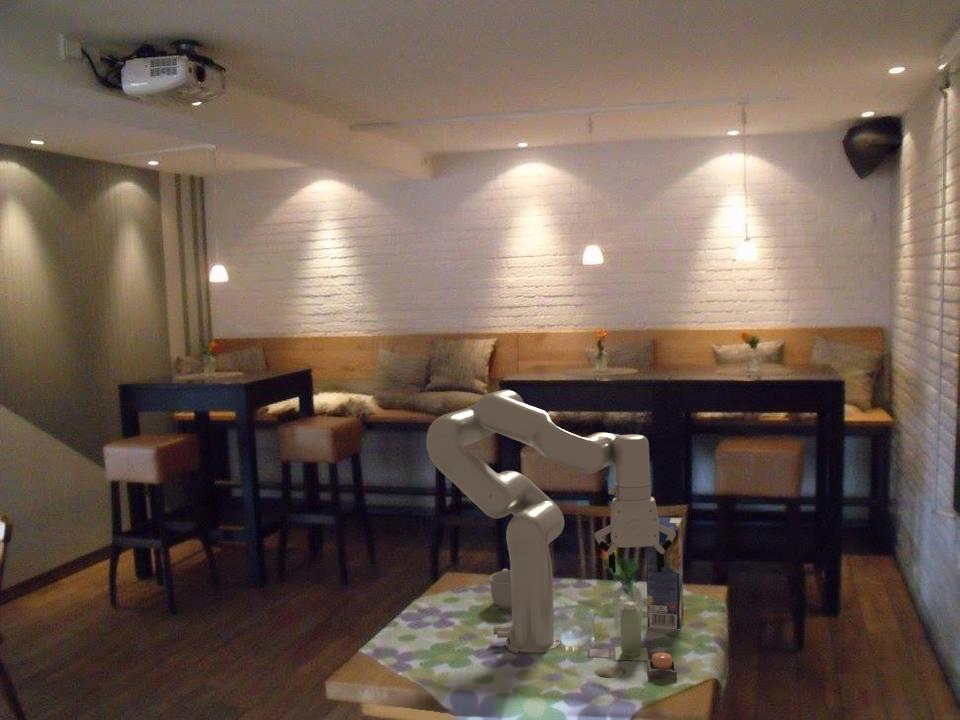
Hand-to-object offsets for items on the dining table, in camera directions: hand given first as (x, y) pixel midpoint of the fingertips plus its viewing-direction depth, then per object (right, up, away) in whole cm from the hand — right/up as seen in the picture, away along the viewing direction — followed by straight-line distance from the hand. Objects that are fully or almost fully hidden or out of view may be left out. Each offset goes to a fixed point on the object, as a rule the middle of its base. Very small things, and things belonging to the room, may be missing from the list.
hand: (636, 570), depth 197 cm
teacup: (-26, -18, +41) cm, 52 cm away
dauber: (-1, -19, +3) cm, 19 cm away
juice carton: (+12, -18, +26) cm, 33 cm away
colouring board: (-2, -20, -2) cm, 21 cm away
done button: (+4, -18, -8) cm, 20 cm away
